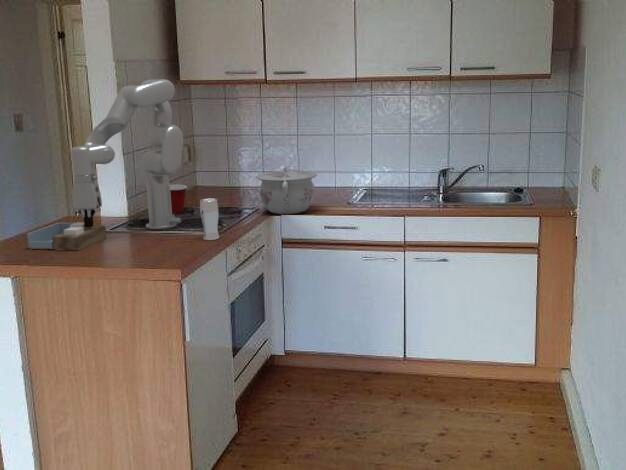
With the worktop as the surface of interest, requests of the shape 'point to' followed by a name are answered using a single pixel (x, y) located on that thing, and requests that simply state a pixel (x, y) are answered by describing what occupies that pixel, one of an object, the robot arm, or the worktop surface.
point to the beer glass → (209, 218)
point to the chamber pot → (287, 191)
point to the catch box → (46, 235)
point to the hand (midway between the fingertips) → (89, 226)
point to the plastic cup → (177, 197)
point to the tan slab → (80, 239)
